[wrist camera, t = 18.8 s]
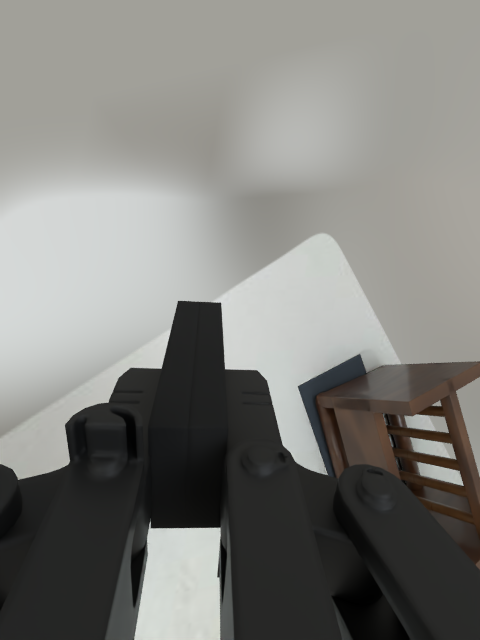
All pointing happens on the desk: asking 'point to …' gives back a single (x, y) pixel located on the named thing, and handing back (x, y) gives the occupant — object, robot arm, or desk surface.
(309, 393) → the mat
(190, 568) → the desk surface
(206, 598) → the desk surface
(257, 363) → the desk surface
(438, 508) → the rack
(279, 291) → the desk surface
